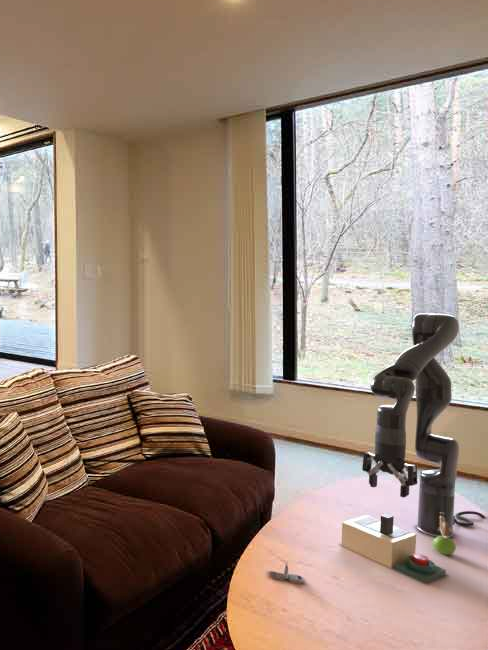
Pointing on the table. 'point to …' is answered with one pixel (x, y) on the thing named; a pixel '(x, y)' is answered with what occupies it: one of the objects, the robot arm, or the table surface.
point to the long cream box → (377, 541)
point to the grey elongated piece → (290, 576)
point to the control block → (420, 570)
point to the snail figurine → (444, 539)
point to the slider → (386, 524)
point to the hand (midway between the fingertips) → (388, 491)
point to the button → (420, 559)
